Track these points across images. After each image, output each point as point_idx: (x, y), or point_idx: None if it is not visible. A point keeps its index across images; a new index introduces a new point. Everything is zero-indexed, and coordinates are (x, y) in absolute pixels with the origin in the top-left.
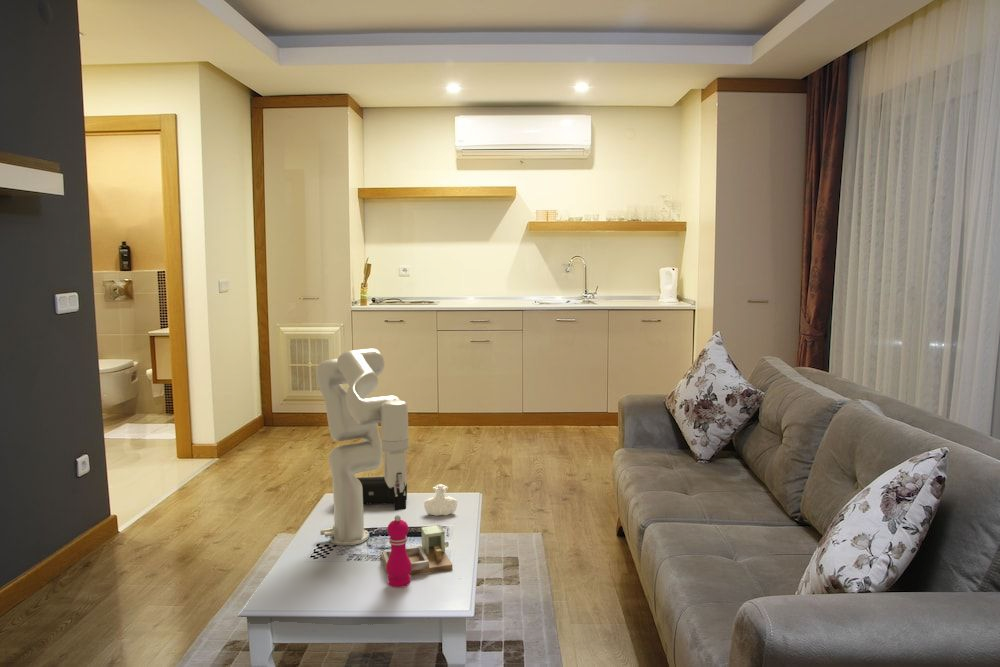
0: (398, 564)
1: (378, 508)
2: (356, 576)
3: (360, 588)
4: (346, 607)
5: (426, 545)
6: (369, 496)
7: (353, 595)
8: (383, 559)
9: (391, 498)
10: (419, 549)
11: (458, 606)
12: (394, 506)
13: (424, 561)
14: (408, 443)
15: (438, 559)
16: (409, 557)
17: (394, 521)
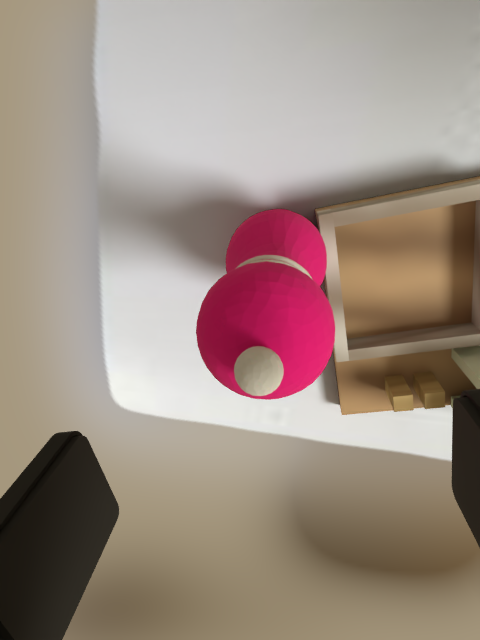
0: (229, 270)
1: None
2: (370, 63)
3: (254, 97)
4: (107, 55)
5: (467, 367)
6: None
7: (198, 73)
8: (456, 184)
9: (455, 418)
10: (460, 336)
11: (120, 395)
12: (41, 456)
13: (340, 347)
14: None
15: (385, 383)
16: (448, 289)
17: (253, 338)
